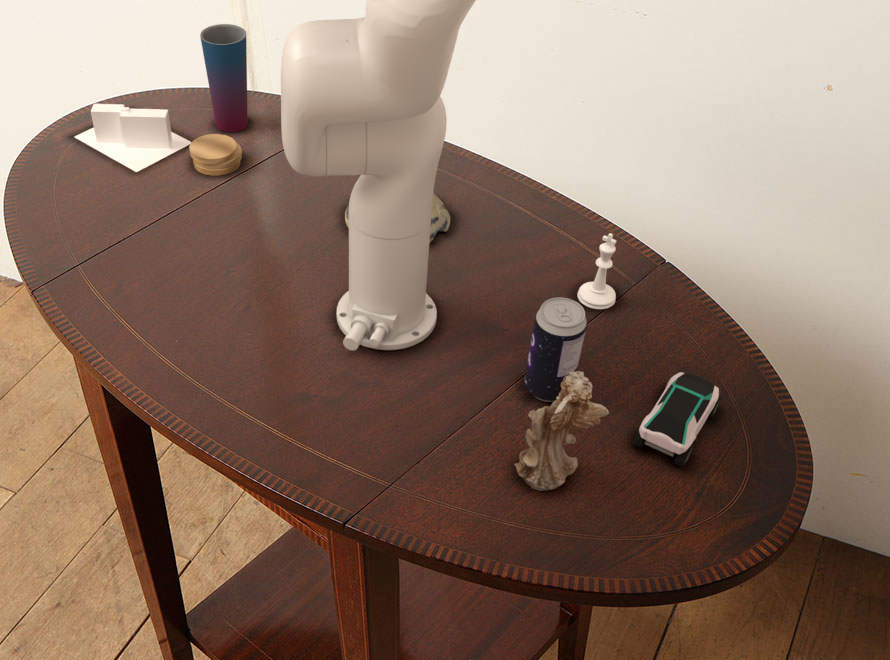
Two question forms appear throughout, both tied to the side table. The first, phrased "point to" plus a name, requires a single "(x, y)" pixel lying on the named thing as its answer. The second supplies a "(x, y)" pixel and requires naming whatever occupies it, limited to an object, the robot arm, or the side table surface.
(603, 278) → the chess piece
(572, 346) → the beverage can
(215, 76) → the cup
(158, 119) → the napkin holder
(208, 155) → the chip pile
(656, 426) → the toy car
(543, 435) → the figurine
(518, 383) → the side table surface
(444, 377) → the side table surface
